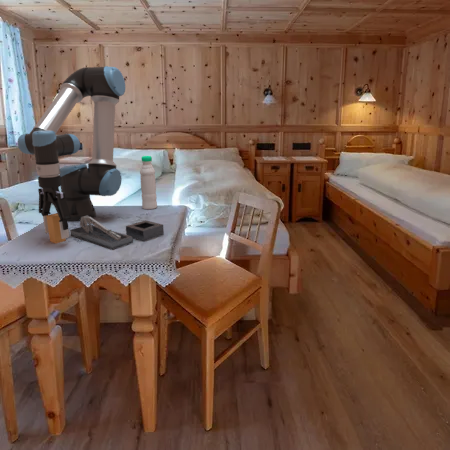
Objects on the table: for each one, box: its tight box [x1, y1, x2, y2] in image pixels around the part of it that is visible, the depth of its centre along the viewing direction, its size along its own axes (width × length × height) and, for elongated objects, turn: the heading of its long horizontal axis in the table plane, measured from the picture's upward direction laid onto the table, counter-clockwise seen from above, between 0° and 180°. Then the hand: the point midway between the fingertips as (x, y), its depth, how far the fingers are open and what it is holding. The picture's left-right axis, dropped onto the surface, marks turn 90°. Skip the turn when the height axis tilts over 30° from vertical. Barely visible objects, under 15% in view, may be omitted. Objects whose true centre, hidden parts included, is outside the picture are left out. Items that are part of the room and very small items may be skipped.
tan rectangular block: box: [46, 212, 67, 244], centre depth 149 cm, size 4×4×10 cm
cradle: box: [69, 224, 134, 251], centre depth 152 cm, size 26×9×2 cm, turn 52°
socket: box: [125, 220, 165, 242], centre depth 156 cm, size 10×10×4 cm
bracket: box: [79, 216, 121, 241], centre depth 151 cm, size 3×21×10 cm, turn 50°
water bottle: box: [139, 155, 158, 210], centre depth 194 cm, size 7×7×25 cm
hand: (57, 234), depth 150 cm, fingers open, 10 cm apart
